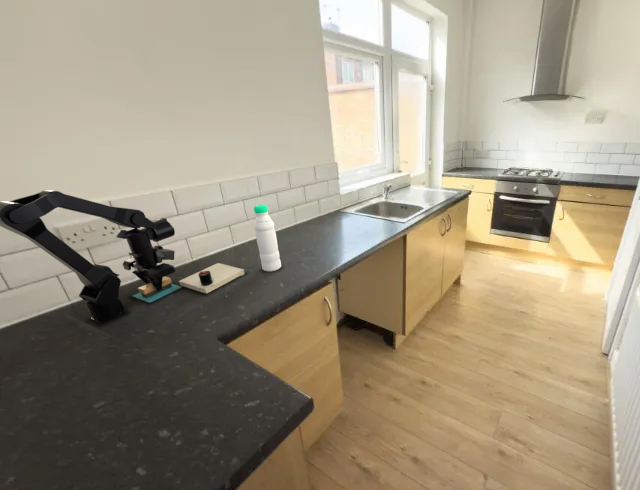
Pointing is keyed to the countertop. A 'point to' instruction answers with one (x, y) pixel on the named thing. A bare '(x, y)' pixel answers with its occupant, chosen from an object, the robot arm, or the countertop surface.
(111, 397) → the countertop surface
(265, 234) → the water bottle
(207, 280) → the knob
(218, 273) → the cream rectangular board
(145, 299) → the dish cloth
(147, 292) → the brush
